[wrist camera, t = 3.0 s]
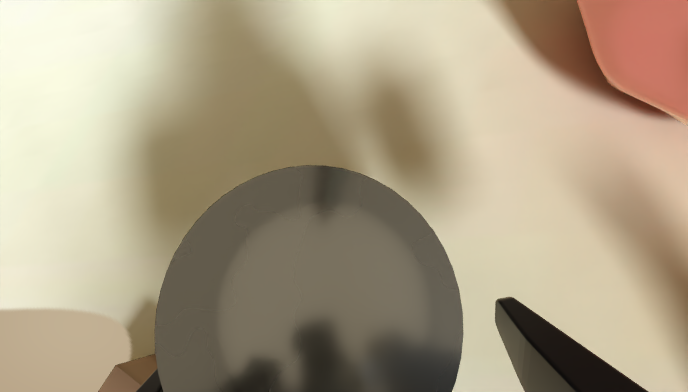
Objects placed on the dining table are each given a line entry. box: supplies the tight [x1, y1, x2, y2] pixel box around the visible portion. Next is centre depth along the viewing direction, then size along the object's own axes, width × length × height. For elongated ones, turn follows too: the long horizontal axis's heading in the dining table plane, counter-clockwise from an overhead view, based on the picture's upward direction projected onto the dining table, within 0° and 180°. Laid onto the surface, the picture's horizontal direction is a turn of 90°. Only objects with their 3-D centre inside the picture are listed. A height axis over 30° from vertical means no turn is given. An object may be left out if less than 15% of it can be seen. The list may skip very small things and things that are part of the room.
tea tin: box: [155, 165, 463, 392], centre depth 12 cm, size 6×6×12 cm
